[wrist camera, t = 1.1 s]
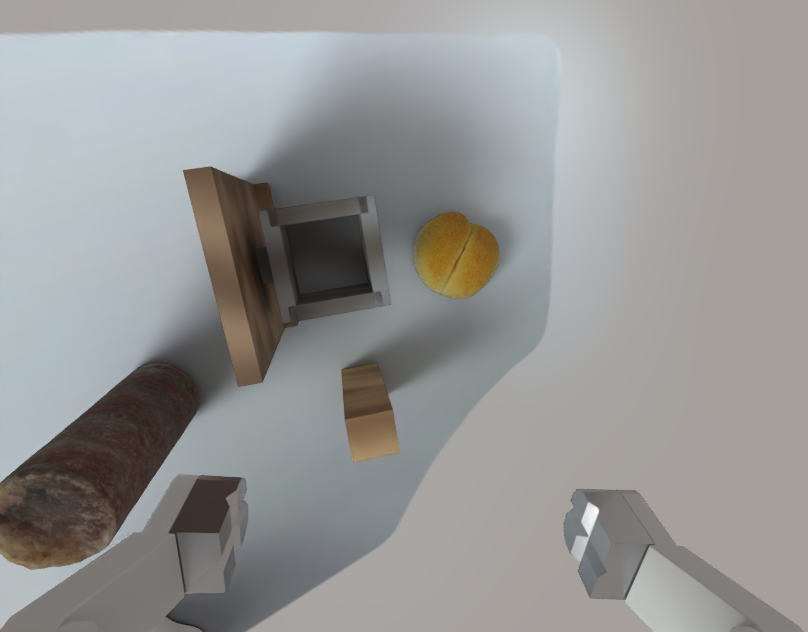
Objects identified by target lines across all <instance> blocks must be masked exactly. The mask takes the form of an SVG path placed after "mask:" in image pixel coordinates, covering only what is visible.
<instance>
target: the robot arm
mask: <svg viewBox="0 0 808 632" xmlns="http://www.w3.org/2000/svg"><path fill="white" fill-rule="evenodd" d="M246 490H247V489H246V480H245V479H244V478H239V477H222V476H205V475H201V476H197V475H181V474H179V475H178V476H177V477H175V478H174V479H173V481H172V482H171V484H170V486H169V487H168V489H167V491H166V492H165V494H164V496H163V497H162V499H161V501H160V502H159V504H158V506H157V507H156V509H155V511H154V512H153V514H152V516H151V517H150V519H149V521H148V522H147V524H146V526H145V527H144V529H143V531H142V532H141V533H133V534H132V535H130V536H129V537H127V538H126V539H124V540H123V541H121V542H120V543H118V544H117V545H116V546H114V547H113V548H111V549H110V550H108V551H107V552H105V553H104V554H102V555H101V556H99V557H98V558H96V559H95V560H94V561H92V562H91V563H89V564H88V565H86V566H85V567H83V568H82V569H80V570H79V571H77V572H76V573H74V574H73V575H71V576H70V577H69V578H67V579H66V580H64V581H63V582H61V583H60V584H58V585H57V586H55V587H54V588H52V589H51V590H49V591H48V592H47V593H45V594H44V595H42V596H41V597H39V598H38V599H36V600H35V601H33V602H32V603H30V604H29V605H27V606H26V607H25V608H23V609H22V610H20V611H19V612H17V613H16V614H14V615H13V616H11V617H10V618H9V619H8V621H7V622H6V623H5V625H4V626H3V627H2V629H1V630H0V632H202V631H201V630H200V629H198V628H196V627H192V626H188V625H183V624H178V623H176V622H173V621H172V620H170V619H168V618H167V617H165V616H166V615H167V614H168V613H169V612H170V611H171V610H172V609H173V608H174V607H175V606H176V605H177V604H178V603H179V602H180V601H181V600H182V599H183V598H184V597H185V594H190V593H225V592H226V590H227V587H228V584H229V581H230V578H231V575H232V572H233V569H234V566H235V557H234V553H235V552H236V551H237V550H238V549H239V548H240V547H241V546H242V542H243V539H244V536H245V532H246V527H247V521H248V504H247V503H246V502H245V501H244V500H243V498H244V496H245V493H246ZM571 502H572V504H573V506H574V508H573V509H572V510H570V511H569V512H568V513H567V514H566V517H565V521H564V537H565V541H566V545H567V548H568V550H569V552H570V554H571V555H572V556H573V557H574V558H575V559H576V560H578V561H579V562H580V565H579V569H578V573H579V575H580V577H581V580H582V582H583V584H584V586H585V588H586V591H587V593H588V595H589V597H590V598H594V599H616V600H625V603H627V605H628V606H629V607H630V608H631V609H632V610H633V611H634V612H635V613H636V614H637V615H638V616H639V617H640V618H641V619H642V620H643V621H644V622H645V623H646V624H647V625H648V626H649V627H650V628H651V629H652V630H653V631H654V632H803V631H802V629H801V628H800V627H799V626H798V625H796V624H795V623H794V622H792V621H791V620H789V619H788V618H786V617H785V616H784V615H782V614H781V613H779V612H778V611H776V610H775V609H773V608H772V607H770V606H769V605H768V604H766V603H765V602H763V601H762V600H760V599H759V598H757V597H756V596H755V595H753V594H752V593H750V592H749V591H747V590H746V589H744V588H743V587H742V586H740V585H739V584H737V583H736V582H734V581H733V580H731V579H730V578H729V577H727V576H726V575H724V574H723V573H721V572H720V571H718V570H717V569H716V568H714V567H713V566H711V565H710V564H708V563H707V562H705V561H704V560H702V559H701V558H700V557H698V556H697V555H695V554H694V553H692V552H691V551H689V550H688V549H686V548H685V547H683V546H677V545H676V543H675V542H674V541H673V539H672V538H671V537H670V535H669V534H668V532H667V531H666V529H665V528H664V527H663V525H662V524H661V522H660V521H659V520H658V518H657V517H656V515H655V514H654V513H653V511H652V510H651V508H650V507H649V506H648V504H647V503H646V501H645V500H644V498H643V497H642V496H641V494H640V493H638V492H637V491H635V490H593V489H577V490H576V491H575V492H574V493H573V495H572V498H571Z"/></svg>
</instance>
